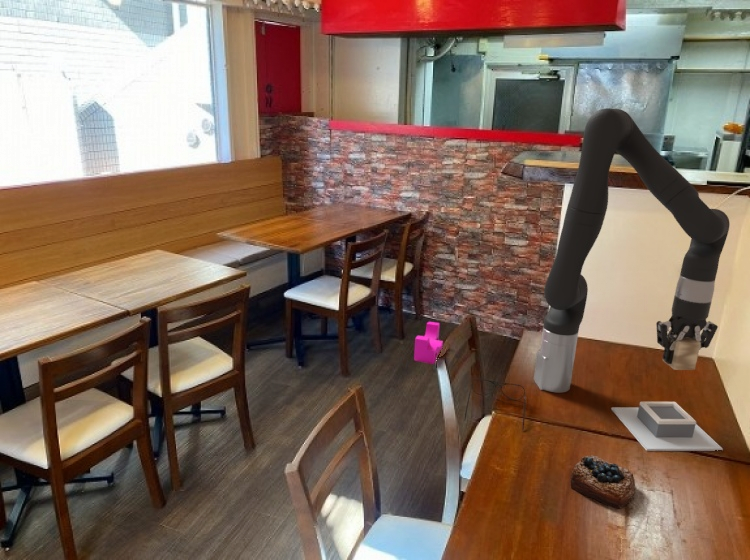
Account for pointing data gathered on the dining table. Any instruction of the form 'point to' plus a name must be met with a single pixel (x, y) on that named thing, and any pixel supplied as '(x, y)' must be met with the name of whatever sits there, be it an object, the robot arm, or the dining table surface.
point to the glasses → (502, 392)
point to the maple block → (685, 354)
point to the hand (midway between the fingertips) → (678, 362)
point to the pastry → (603, 481)
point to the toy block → (428, 344)
